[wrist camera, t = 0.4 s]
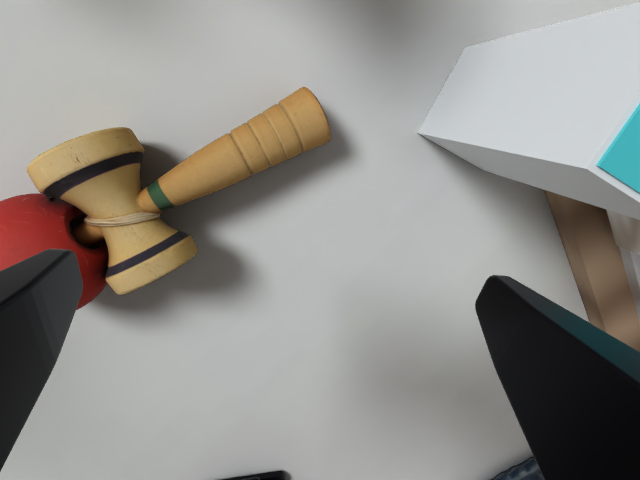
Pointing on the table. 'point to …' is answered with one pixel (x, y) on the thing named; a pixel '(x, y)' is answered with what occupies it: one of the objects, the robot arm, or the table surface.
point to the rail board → (603, 264)
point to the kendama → (141, 195)
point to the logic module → (551, 108)
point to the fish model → (522, 472)
